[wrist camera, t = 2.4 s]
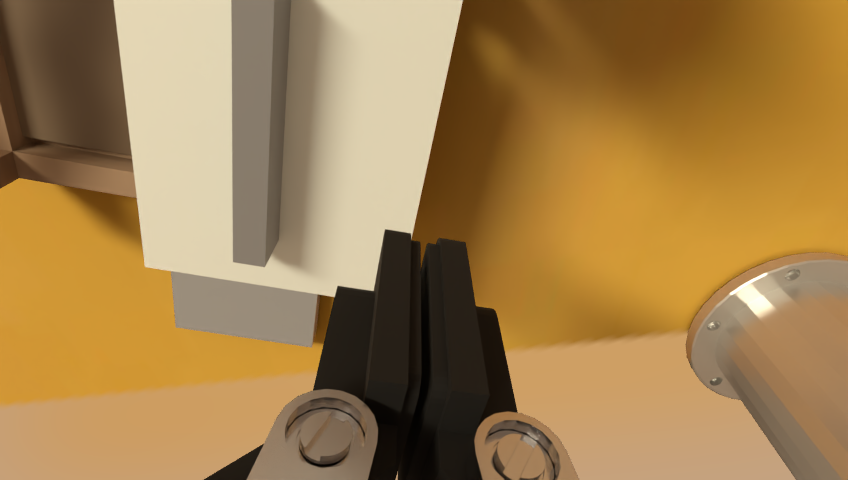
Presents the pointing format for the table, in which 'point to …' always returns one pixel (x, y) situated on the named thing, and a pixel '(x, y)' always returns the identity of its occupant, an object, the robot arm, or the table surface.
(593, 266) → the table surface
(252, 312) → the trivet
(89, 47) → the wooden frame crate
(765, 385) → the robot arm
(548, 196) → the table surface
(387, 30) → the lid
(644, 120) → the table surface
